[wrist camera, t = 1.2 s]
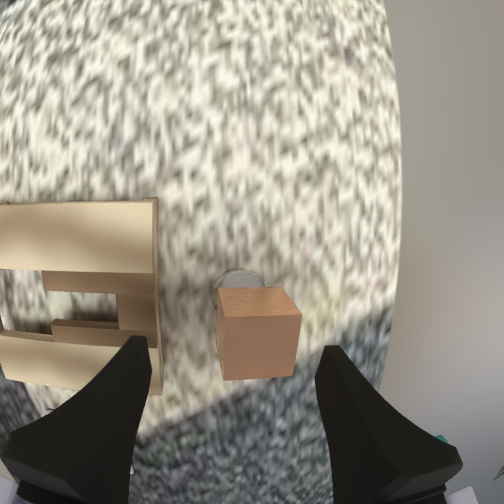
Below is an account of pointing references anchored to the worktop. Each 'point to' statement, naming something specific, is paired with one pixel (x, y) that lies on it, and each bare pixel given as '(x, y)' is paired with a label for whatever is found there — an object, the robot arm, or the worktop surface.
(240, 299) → the headed peg
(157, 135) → the worktop surface
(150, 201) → the tan piece
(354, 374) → the robot arm
